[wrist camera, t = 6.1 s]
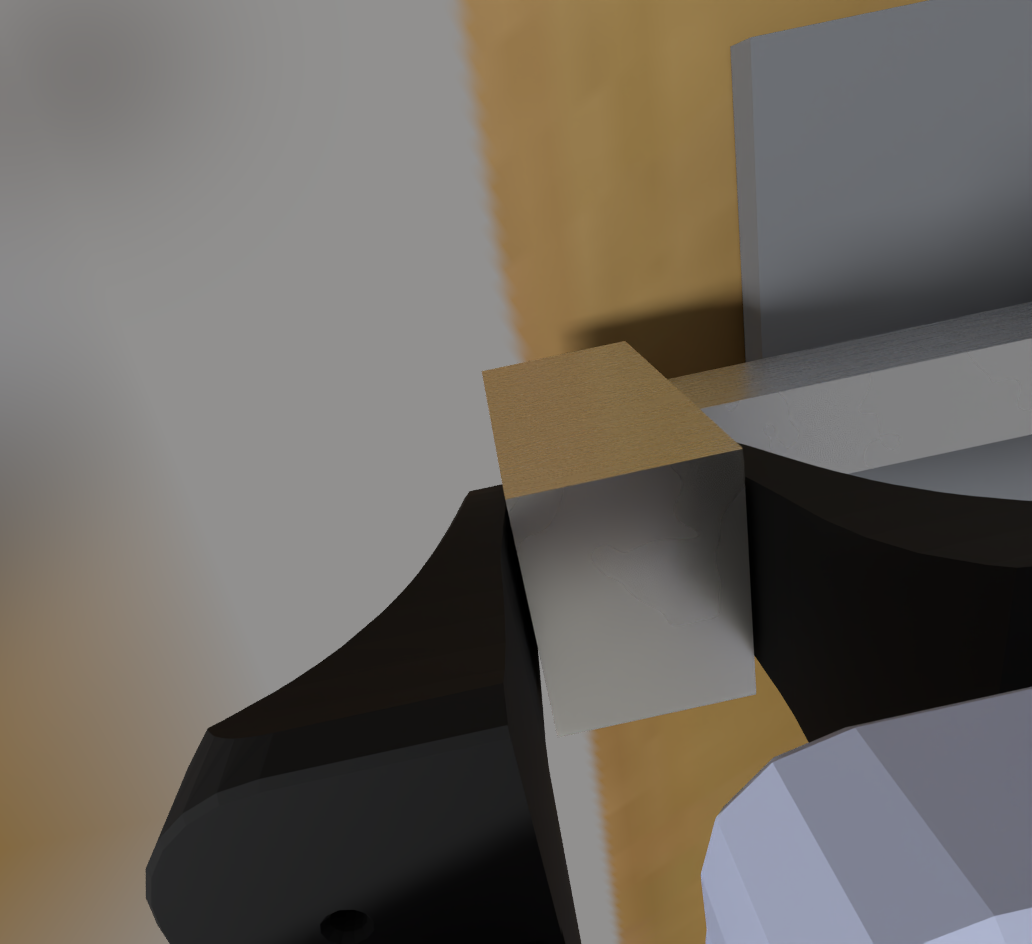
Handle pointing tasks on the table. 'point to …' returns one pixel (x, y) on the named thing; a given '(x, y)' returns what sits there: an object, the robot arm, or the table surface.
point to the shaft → (708, 489)
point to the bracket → (889, 191)
